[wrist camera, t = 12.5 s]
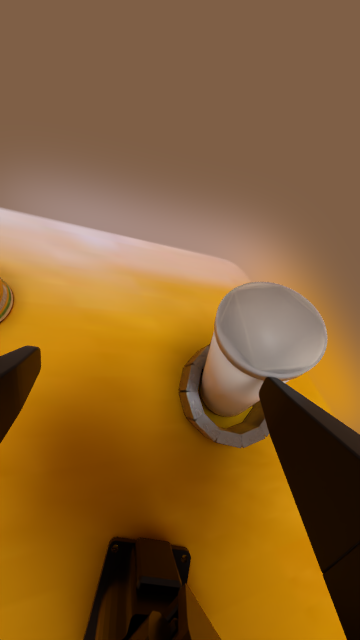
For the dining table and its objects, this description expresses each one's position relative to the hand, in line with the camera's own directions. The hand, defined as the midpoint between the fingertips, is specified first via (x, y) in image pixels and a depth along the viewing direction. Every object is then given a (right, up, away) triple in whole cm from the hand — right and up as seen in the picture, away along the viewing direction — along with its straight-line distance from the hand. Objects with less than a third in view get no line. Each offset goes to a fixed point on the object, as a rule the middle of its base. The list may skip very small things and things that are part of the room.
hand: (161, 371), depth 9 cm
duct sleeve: (+5, -5, +13) cm, 15 cm away
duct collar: (+5, -5, +14) cm, 16 cm away
